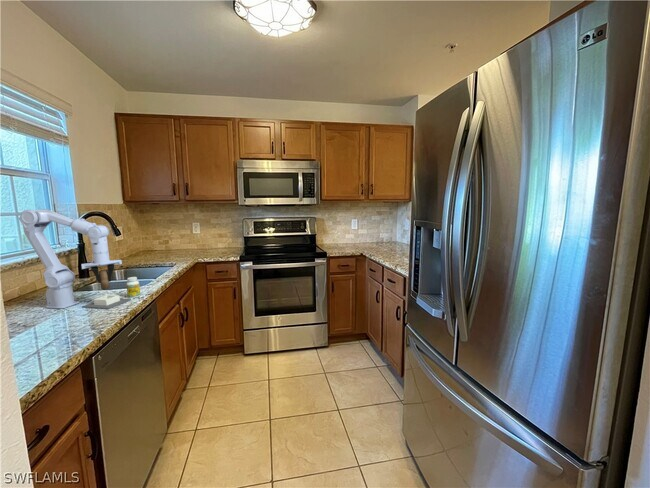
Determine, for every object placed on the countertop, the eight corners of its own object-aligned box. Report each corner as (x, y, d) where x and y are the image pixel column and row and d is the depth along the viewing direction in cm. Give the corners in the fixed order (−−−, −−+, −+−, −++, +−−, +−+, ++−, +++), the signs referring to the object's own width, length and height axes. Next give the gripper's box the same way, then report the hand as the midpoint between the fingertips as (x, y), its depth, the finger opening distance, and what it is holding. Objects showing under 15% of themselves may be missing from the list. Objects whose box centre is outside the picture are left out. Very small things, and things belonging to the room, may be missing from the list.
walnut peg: (99, 289, 135) (96, 271, 134) (105, 286, 138) (103, 270, 137) (105, 289, 135) (102, 271, 133) (111, 287, 138) (109, 270, 136)
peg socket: (82, 307, 133) (81, 300, 133) (106, 298, 145) (105, 292, 144) (108, 309, 130) (107, 302, 130) (131, 300, 142) (130, 293, 142)
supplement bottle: (140, 294, 151) (138, 275, 150) (140, 297, 147) (138, 278, 145) (127, 296, 148) (125, 277, 147) (127, 299, 144) (125, 279, 142)
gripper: (79, 255, 126) (84, 286, 128) (121, 251, 135) (124, 280, 137) (80, 253, 132) (84, 283, 134) (119, 249, 141) (123, 277, 143)
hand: (104, 281), depth 136 cm, fingers closed on walnut peg, 3 cm apart
